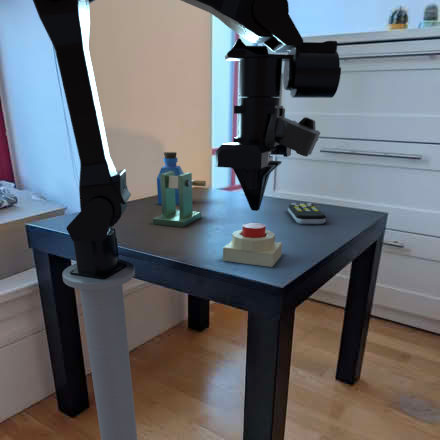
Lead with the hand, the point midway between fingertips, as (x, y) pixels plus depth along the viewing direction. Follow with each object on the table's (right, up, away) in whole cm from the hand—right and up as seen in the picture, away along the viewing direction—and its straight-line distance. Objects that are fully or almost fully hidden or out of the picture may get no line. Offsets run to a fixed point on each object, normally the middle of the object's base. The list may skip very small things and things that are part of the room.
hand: (255, 210), depth 64 cm
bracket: (-14, +3, +25) cm, 29 cm away
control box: (0, -7, +3) cm, 8 cm away
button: (0, -4, +2) cm, 4 cm away
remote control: (+14, +4, +28) cm, 32 cm away
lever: (-13, +10, +26) cm, 30 cm away
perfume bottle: (-18, +10, +43) cm, 48 cm away
